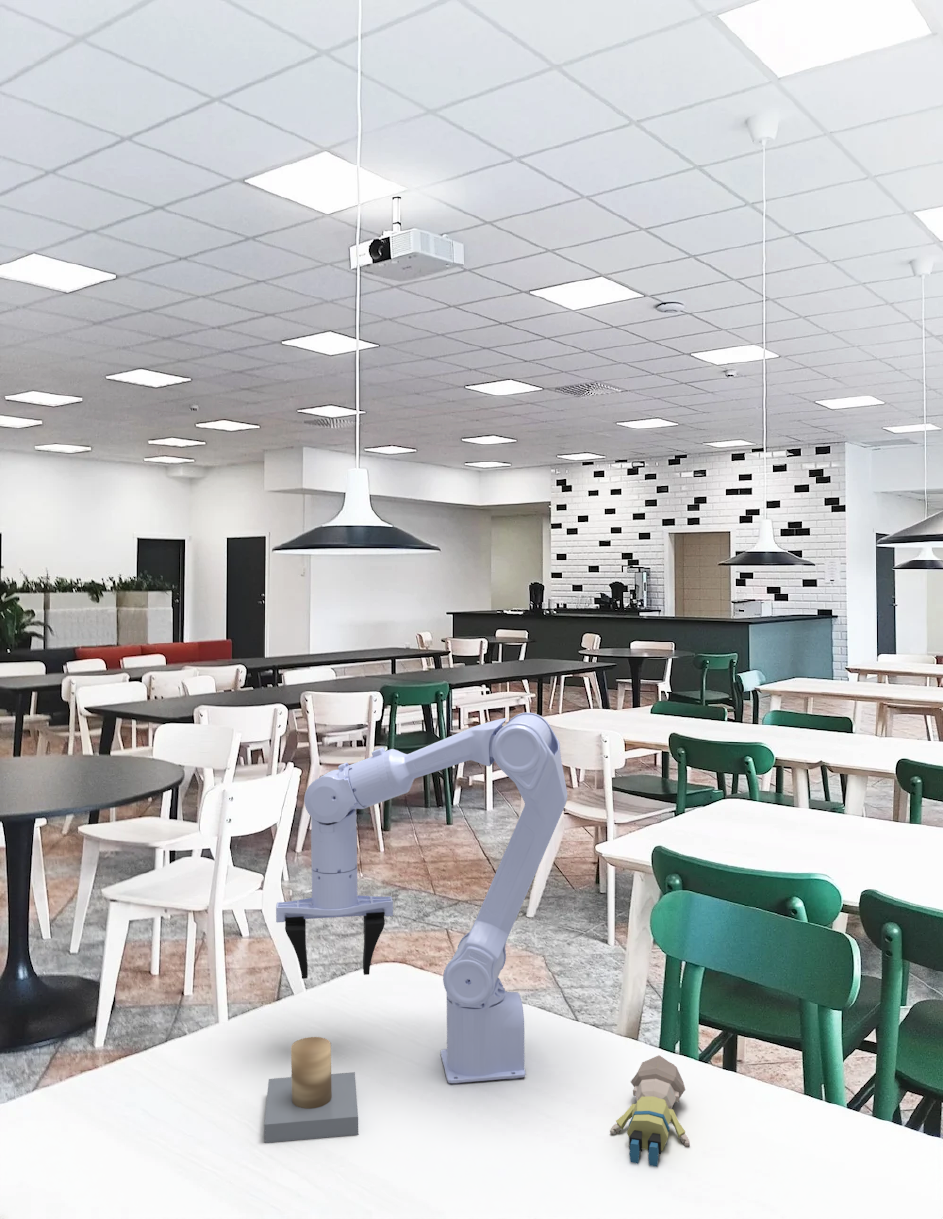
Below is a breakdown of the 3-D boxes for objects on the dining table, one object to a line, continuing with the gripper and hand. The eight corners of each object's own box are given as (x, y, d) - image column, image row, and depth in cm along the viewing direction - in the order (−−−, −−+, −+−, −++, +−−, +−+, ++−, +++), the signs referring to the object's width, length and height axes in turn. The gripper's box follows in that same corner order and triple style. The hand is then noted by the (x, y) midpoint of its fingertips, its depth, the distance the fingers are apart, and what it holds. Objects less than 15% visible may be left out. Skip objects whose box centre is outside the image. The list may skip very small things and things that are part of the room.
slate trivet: (355, 1088, 121) (354, 1072, 121) (358, 1134, 111) (358, 1116, 111) (269, 1095, 120) (268, 1078, 119) (264, 1142, 110) (264, 1124, 110)
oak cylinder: (335, 1089, 117) (334, 1037, 117) (326, 1109, 113) (325, 1055, 112) (298, 1087, 117) (297, 1036, 117) (287, 1107, 113) (286, 1054, 113)
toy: (685, 1180, 104) (697, 1099, 118) (685, 1129, 104) (697, 1054, 118) (602, 1166, 107) (624, 1088, 121) (602, 1117, 106) (623, 1045, 120)
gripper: (389, 855, 134) (390, 958, 134) (277, 861, 132) (278, 965, 132) (393, 871, 127) (394, 979, 127) (274, 877, 125) (276, 987, 125)
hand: (335, 973), depth 129 cm, fingers open, 7 cm apart
